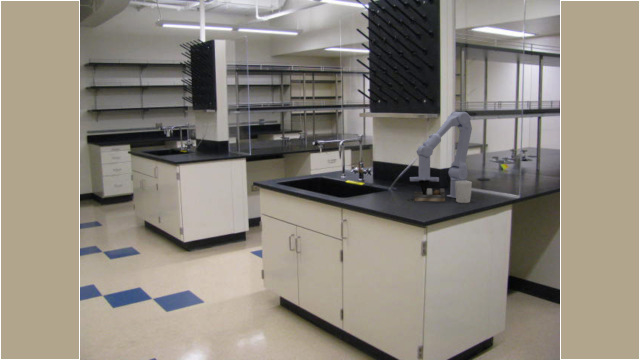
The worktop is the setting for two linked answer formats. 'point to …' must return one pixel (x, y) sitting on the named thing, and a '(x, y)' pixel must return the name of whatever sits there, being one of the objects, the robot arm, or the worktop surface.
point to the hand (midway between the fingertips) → (424, 195)
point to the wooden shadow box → (431, 196)
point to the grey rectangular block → (429, 191)
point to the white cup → (463, 191)
